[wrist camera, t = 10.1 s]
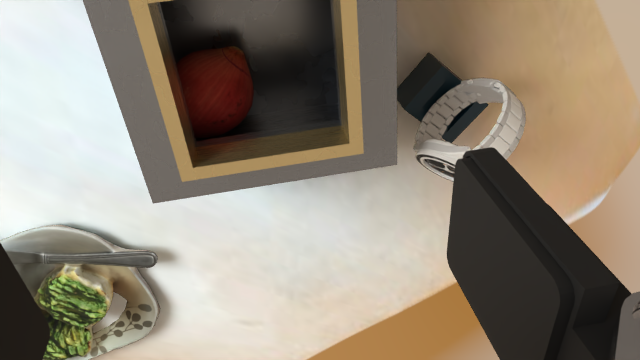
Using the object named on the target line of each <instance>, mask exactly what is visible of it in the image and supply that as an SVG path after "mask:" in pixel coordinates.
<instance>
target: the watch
mask: <svg viewBox="0 0 640 360" xmlns="http://www.w3.org/2000/svg"><path fill="white" fill-rule="evenodd" d="M397 100H398V101H399V103H400V104H401V106H402V107H403V109H404V110H406V111H407V112H408V113H410V114H411V115H412V116H414V117H415V118H416V119H418V120H419V121H420V122H421V124H420V126H419V128H418V131H417V134H416V138H415V145H414V147H413V149H414V150H415V151H416V152H417V153H416V155H415V157H416V159H417V160H418V162H419V163H421V164H422V165H423V166H424V167H426V168H427V169H429V170H430V171H432V172H433V173H435V174H437V175H439V176H441V177H443V178H446V179H448V180H450V181H453V182H454V173H455V164H456V161H457V160H458V159H463V155H464V153H465V152H466V151H470V150H471V148H470V147H468V146H458V145H455V144H453V143H452V142H453V141H454V140H455V139H456V138H457V137H458V136H459V135H460V134H461V133H462V132H463V131H464V130H465V129H466V128H467V126H468V125H469V124H470V123H471V122H472V121H473V120H474V119H475V118H476V117H477V116H478V115H479V114H480V113H481V112H482V111H483V110H484V109H485V108H486V107H487V106H488V105H489V104H487V103H491V102H497V103H503V106H502V112H501V113H500V115H499V118H498V120H497V123H498V124H495V125H494V127H493V128H492V130H491V131H490V135H487V136H486V138H485V139H484V140H483V141H482V142H481V143H480V145H481V146H482V147H481V146H480V145H478V146H476V147H475V148H474V149H472V150H477V149H483V148H490V147H493V148H495V149H496V150H497V151H498V152H499V153H500V154H501V155H502V156H503V157H504V158H505V159H506V160H507V158H508V157H509V156H510V155H511V153H512V152H513V151H514V150H515V148H516V146H517V145H518V143H519V140H520V139H521V137H522V134H523V131H524V126H525V120H526V117H525V115H526V114H525V109H524V107H523V104H522V103H521V101H520V100H519V99H517V98H516V95H515V94H514V93H513V92H512V91H511V90H510V89H509V88H508V87H507V86H506V85H504V84H503V83H502V82H500V81H499V80H496V79H491V78H475V79H469V80H465V81H462V80H461V79H460V78H458V77H457V76H456V75H455V74H454V73H453V72H451V71H450V70H449V69H448V68H447V67H446V66H444V65H443V64H442V63H441V62H440V61H439V60H438V59H436V58H435V57H434V56H433V55H432V54H431V53H428V54H427V55H426V56H425V58H424V59H423V60H422V61H421V62H420V63H419V64H418V66H417V67H416V68H415V69H414V70H413V71H412V72H411V74H410V75H409V76H408V77H407V78H406V79H405V80H404V82H403V83H402V84H401V85H400V86H399V87H398V88H397ZM441 138H443V139H444V140H445V141H443V140H441ZM501 138H502V139H501ZM506 142H507V143H506ZM509 150H510V151H509Z"/></svg>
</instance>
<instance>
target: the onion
mask: <svg viewBox="0 0 640 360" xmlns="http://www.w3.org/2000/svg"><path fill="white" fill-rule="evenodd" d="M176 66H177V70H178V73H179V77H180V81H181V85H182V89H183V92H184V96H185V100H186V104H187V108H188V112H189V115H190V119H191V123H192V127H193V131H194V134H195V138H208V137H214V136H218V135H221V134H223V133H226V132H228V131H230V130H231V129H233V128H234V127H236V126H237V125H239V124H240V123H241V121H242V120H243V119H244V118H245V117H246V116H247V114H248V112H249V110H250V109H251V107H252V103H253V96H254V89H253V82H252V78H251V74H250V71H249V68H248V65H247V62H246V58H245V55H244V53H243V51H242V50H241V49H239V48H238V47H235V46H228V47H225V48H218V49H204V50H200V51H195V52H191V53H190V54H188V55H186V56H185V57H183V58H181V59H180V60H179V62H178V63H177V64H176Z"/></svg>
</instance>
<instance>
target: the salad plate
mask: <svg viewBox="0 0 640 360" xmlns="http://www.w3.org/2000/svg"><path fill="white" fill-rule="evenodd" d="M0 243H1V244H2V246H3V248H4V249H5V251H6V253H7V254H8V256H9V258H10V260H11V261H12V263H13V265H14V266H15V268H16V270H17V271H18V273H19V275H20V276H21V278H22V280H23V281H24V283H25V285H26V287H27V288H28V290H29V292H30V293H31V295H32V297H33V298H34V300H35V302H36V303H37V305H38V307H39V308H40V310H41V312H42V313H43V315H44V317H45V319H46V320H47V322H48V324H49V328H50V339H49V343H48V346H47V348H46V351H45V354H44V357H43V360H89V359H92V358H94V357H97V356H99V355H101V354H104V353H107V352H109V351H111V350H115V349H118V348H122V347H123V346H126V345H129V344H131V343H133V342H136V341H138V340H140V339H142V338H144V337H145V336H146V335H148V333H149V332H150V331H151V330H152V328H153V327H154V326H155V322H156V320H157V317H158V315H159V312H160V307H159V304H158V302H157V300H156V298H155V296H154V294H153V292H152V291H151V289H150V287H149V286H148V284H147V282H146V281H145V280H144V278H143V277H142V276H141V275H140V273H139V271H138V270H137V268H136V267H141V268H145V267H146V268H150V267H153V266H154V265H155V264H156V263H157V255H156V254H155V253H154V252H152V251H148V250H132V249H124V248H121V247H119V246H116V245H114V244H112V243H110V242H108V241H107V240H105V239H103V238H102V237H100V236H98V235H97V234H94V233H90V232H86V231H84V230H79V229H75V228H71V227H68V226H64V225H50V226H43V227H39V228H33V229H29V230H26V231H23V232H20V233H17V234H15V235H12V236H10V237H8V238H5V239H2V240H0ZM113 292H115V293H117V294H119V295H121V296H122V297H123V298H125V299H126V300H127V304H126V308H125V310H124V312H123V313H122V314H121V316H120V318H119V319H118V320H117V321H115V322H113V323H112V324H111V325H110V326H108V327H106V328H104V329H102V330H100V331H98V332H96V333H94V334H93V332H92V326H94V325H95V324H96V323H97V322H99V321H100V320H101V319H102V318H103V317H105V315H106V313H107V311H108V310H109V307H110V305H111V302H112V297H113Z"/></svg>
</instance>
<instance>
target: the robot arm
mask: <svg viewBox="0 0 640 360" xmlns="http://www.w3.org/2000/svg"><path fill="white" fill-rule="evenodd" d="M447 259H448V264H449V267H450V269H451V271H452V273H453V275H454V277H455V278H456V280H457V282H458V284H459V285H460V287H461V289H462V291H463V293H464V295H465V297H466V298H467V300H468V302H469V304H470V306H471V308H472V309H473V311H474V313H475V315H476V316H477V318H478V320H479V322H480V324H481V326H482V328H483V329H484V331H485V333H486V335H487V337H488V339H489V340H490V342H491V344H492V346H493V348H494V349H495V351H496V353H497V355H498V357H499V358H500V360H640V292H636V293H633V294H631V293H630V292H629V291H628V290H627V288H625V286H624V285H623V284H622V283H621V282H620V281H619V280H618V279H617V278H616V277H615V275H614V274H613V273H612V272H611V271H610V270H609V269H608V268H607V267H606V266H605V265H604V264H603V263H602V262H601V260H600V259H599V258H598V257H597V256H596V255H595V254H594V253H593V252H592V251H591V250H590V249H589V247H588V246H587V245H586V244H585V243H584V242H583V241H582V240H581V239H580V238H579V237H578V236H577V235H576V233H575V232H573V230H572V229H571V228H570V227H569V226H568V225H567V224H566V223H565V222H564V221H563V219H562V218H561V217H560V216H559V215H558V214H557V213H556V212H555V211H554V210H553V209H552V208H551V207H550V206H549V205H548V204H547V203H545V201H544V200H543V199H542V198H541V197H540V196H539V195H538V194H537V193H536V192H535V191H534V190H533V188H532V187H531V186H530V185H529V184H528V183H527V182H526V181H525V180H524V179H523V178H522V177H521V176H520V174H519V173H518V172H517V171H516V170H515V169H514V168H513V167H512V166H511V165H510V164H509V163H508V161H507V160H506V159H505V158H504V157H503V156H502V155H501V154H500V153H499V152H498V151H497V150H496V149H495V148H493V147H490V148H483V149H477V150H470V151H466V152H465V153H464V155H463V159H458V160H457V161H456V164H455V173H454V184H453V194H452V204H451V215H450V225H449V236H448V246H447ZM49 339H50V328H49V324H48V322H47V320H46V319H45V317H44V315H43V313H42V312H41V310H40V308H39V307H38V305H37V303H36V302H35V300H34V298H33V297H32V295H31V293H30V292H29V290H28V288H27V287H26V285H25V283H24V281H23V280H22V278H21V276H20V275H19V273H18V271H17V270H16V268H15V266H14V265H13V263H12V261H11V260H10V258H9V256H8V254H7V253H6V251H5V249H4V248H3V246H2V244H1V243H0V360H43V357H44V354H45V351H46V348H47V346H48V343H49Z"/></svg>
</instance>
